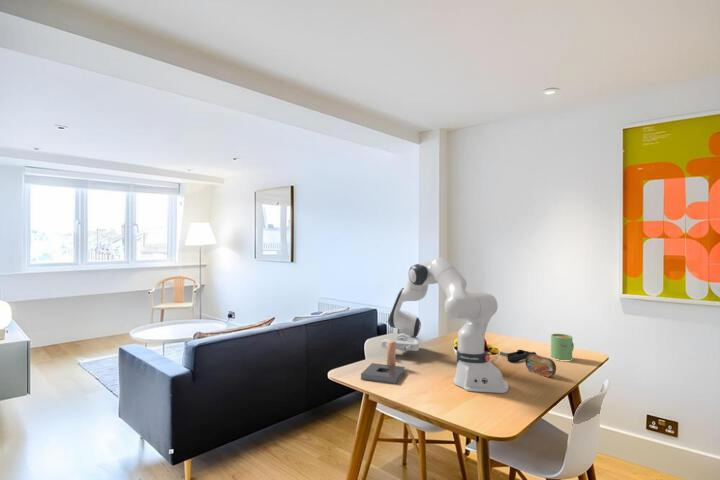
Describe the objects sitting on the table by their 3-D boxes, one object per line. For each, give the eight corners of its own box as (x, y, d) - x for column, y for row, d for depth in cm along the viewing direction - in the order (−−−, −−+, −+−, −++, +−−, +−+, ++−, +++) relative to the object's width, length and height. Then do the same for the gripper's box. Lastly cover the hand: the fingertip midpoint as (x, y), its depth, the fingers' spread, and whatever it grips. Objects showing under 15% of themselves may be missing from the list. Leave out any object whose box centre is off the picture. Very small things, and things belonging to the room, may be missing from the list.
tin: (524, 369, 190) (525, 352, 191) (529, 368, 192) (529, 351, 192) (552, 379, 177) (552, 360, 177) (557, 378, 179) (557, 360, 179)
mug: (560, 362, 203) (560, 338, 203) (546, 356, 213) (546, 334, 213) (581, 360, 206) (581, 337, 206) (566, 355, 216) (566, 333, 216)
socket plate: (404, 372, 185) (404, 367, 185) (396, 384, 169) (396, 378, 169) (371, 368, 190) (372, 363, 190) (361, 379, 175) (361, 373, 175)
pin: (396, 365, 194) (396, 341, 194) (394, 368, 190) (394, 343, 190) (388, 364, 195) (388, 340, 195) (386, 367, 192) (386, 342, 192)
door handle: (489, 351, 214) (513, 357, 200) (515, 347, 223) (539, 352, 209) (489, 357, 214) (513, 364, 199) (515, 353, 223) (540, 359, 209)
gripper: (384, 334, 219) (377, 340, 206) (421, 337, 212) (416, 344, 199) (384, 345, 219) (377, 352, 206) (421, 349, 212) (416, 356, 199)
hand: (396, 348), depth 202 cm, fingers open, 8 cm apart
